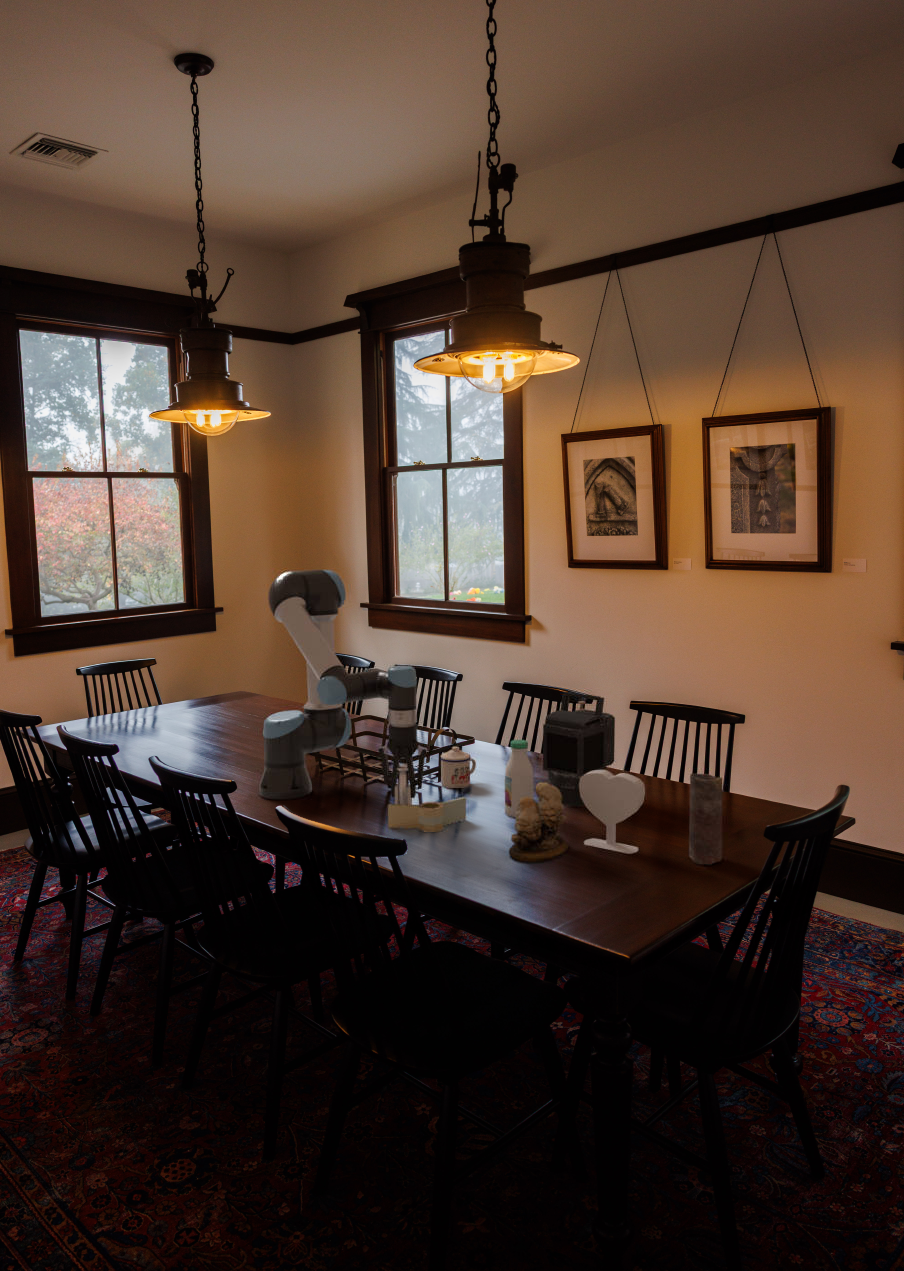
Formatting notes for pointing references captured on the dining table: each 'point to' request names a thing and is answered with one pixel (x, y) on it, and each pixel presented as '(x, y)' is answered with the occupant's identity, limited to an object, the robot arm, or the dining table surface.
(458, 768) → the teacup with lid
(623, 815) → the heart sculpture
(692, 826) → the dark stone pillar
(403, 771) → the hinge pin
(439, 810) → the brass leaf
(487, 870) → the dining table surface
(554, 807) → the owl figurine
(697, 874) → the dining table surface
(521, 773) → the milk bottle
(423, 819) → the pale green hinge leaf
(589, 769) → the lantern
